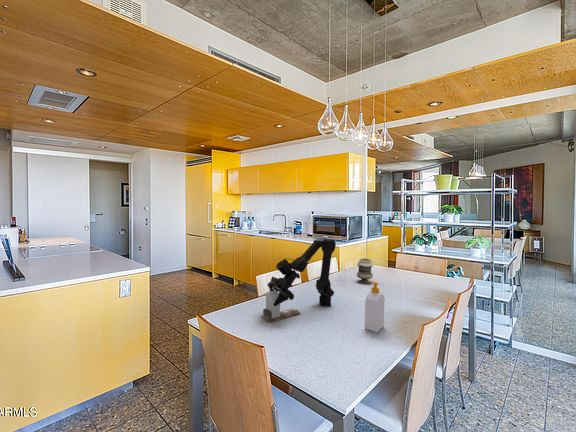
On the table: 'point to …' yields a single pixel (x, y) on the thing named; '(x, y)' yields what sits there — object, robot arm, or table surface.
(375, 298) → the soap bottle
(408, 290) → the table surface
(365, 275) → the stone urn vase
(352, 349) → the table surface
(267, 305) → the block
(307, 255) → the robot arm
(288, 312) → the rail board
